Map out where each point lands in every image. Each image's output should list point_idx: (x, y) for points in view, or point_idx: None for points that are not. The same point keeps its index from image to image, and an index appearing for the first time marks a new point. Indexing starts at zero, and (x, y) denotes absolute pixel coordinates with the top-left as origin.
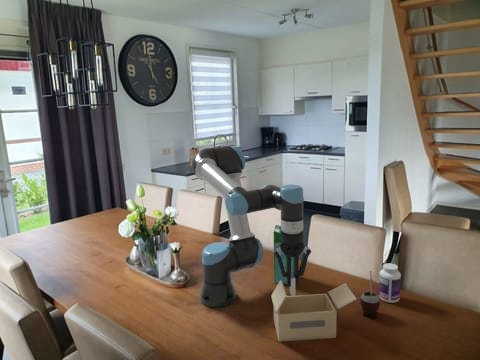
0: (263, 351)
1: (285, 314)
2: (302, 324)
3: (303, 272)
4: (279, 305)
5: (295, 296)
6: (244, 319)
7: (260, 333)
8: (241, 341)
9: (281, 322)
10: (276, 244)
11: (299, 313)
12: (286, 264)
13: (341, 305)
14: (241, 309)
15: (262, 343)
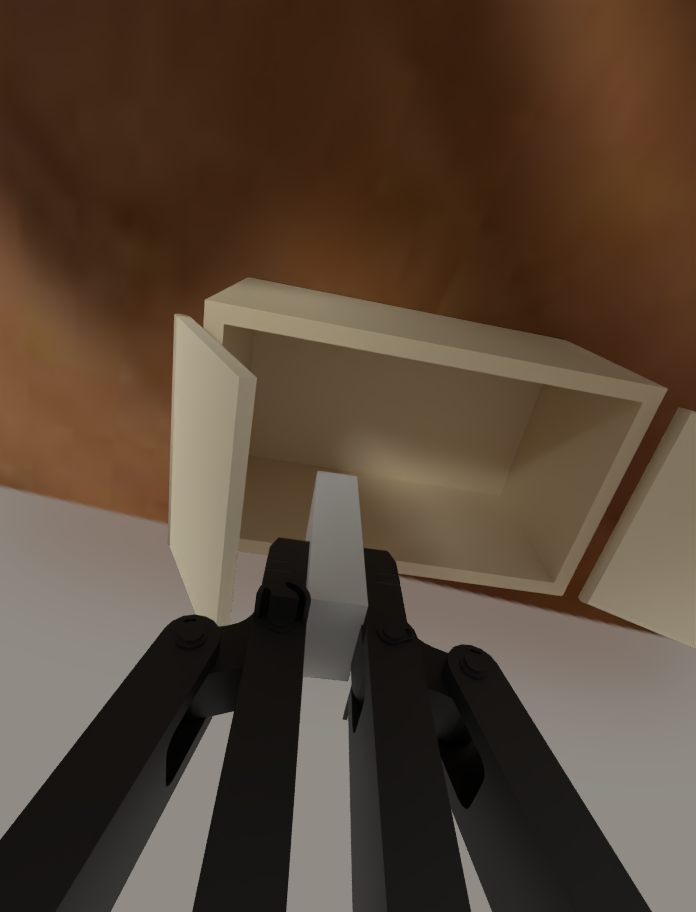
0: (146, 497)
1: (241, 545)
2: None
3: (472, 764)
4: (183, 580)
5: (402, 354)
6: (50, 191)
7: (147, 370)
8: (37, 405)
9: None
10: None
11: None
12: (214, 808)
13: (617, 614)
14: (21, 24)
15: (148, 447)
